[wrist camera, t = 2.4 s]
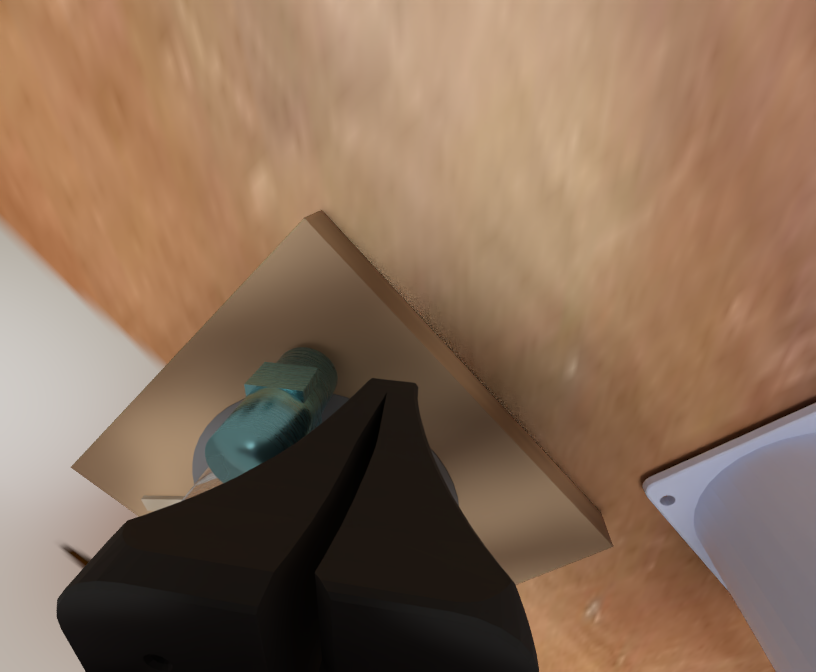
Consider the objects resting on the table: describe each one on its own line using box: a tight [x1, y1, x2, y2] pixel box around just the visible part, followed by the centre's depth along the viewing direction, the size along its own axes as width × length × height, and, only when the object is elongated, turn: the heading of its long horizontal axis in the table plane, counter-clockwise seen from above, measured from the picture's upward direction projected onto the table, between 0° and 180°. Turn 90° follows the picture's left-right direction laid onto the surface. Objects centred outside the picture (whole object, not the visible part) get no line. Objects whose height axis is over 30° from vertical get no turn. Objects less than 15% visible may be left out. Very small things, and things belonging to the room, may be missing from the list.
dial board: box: [71, 210, 613, 585], centre depth 17 cm, size 16×16×2 cm
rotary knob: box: [182, 347, 338, 501], centre depth 13 cm, size 12×9×4 cm
